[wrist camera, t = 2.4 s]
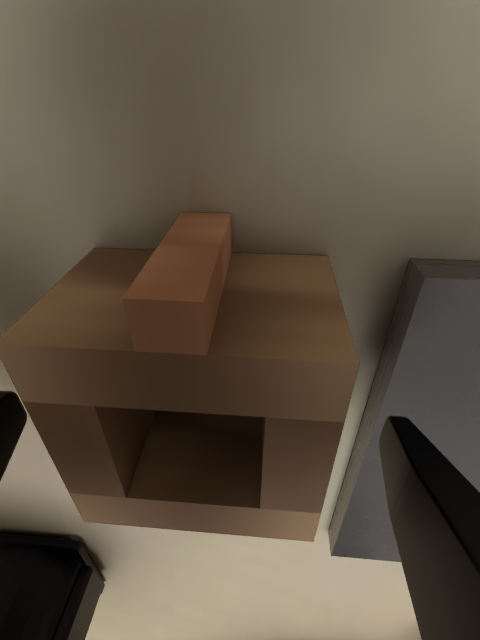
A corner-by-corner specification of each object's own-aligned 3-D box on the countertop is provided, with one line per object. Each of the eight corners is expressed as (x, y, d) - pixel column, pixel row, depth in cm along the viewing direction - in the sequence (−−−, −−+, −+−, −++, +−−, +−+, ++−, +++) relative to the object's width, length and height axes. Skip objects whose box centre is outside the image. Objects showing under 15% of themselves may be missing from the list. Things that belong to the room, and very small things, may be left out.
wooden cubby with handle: (133, 405, 13) (83, 521, 9) (84, 209, 9) (-33, 291, 5) (302, 416, 12) (313, 541, 9) (333, 215, 8) (373, 309, 5)
